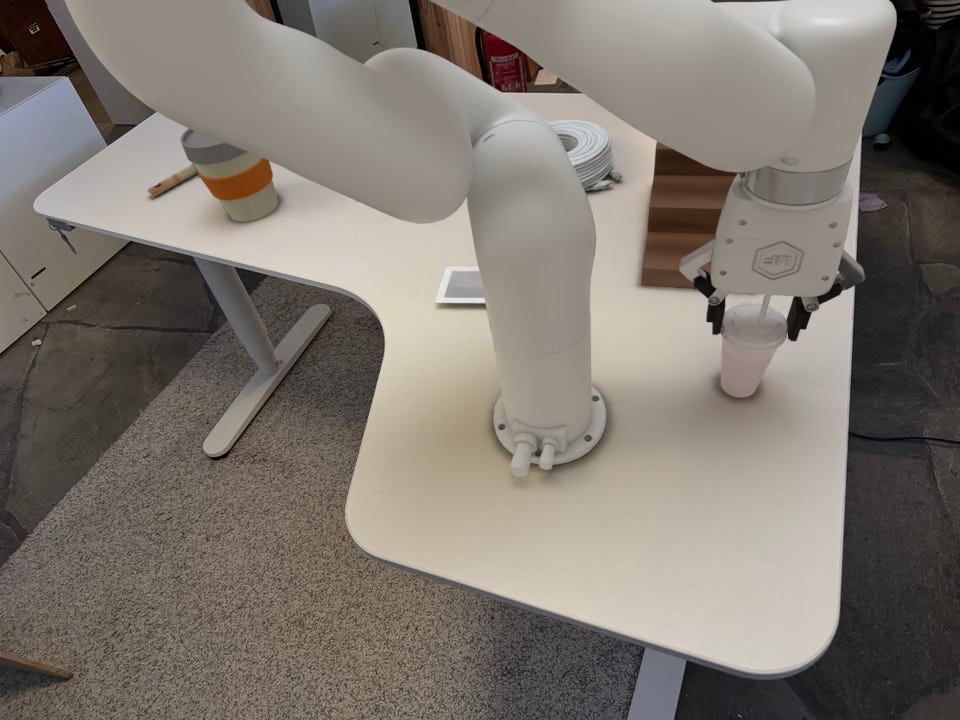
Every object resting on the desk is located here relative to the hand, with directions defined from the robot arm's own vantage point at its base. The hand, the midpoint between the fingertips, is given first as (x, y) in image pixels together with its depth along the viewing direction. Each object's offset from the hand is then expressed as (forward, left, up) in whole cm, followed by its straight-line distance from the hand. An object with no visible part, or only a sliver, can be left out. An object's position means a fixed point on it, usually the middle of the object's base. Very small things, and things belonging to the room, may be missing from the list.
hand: (753, 327), depth 61 cm
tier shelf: (+28, +5, -9) cm, 30 cm away
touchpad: (+13, +32, -9) cm, 36 cm away
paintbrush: (+42, +102, -9) cm, 111 cm away
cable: (+44, +28, -9) cm, 53 cm away
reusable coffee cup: (+31, +82, -9) cm, 88 cm away
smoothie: (0, 0, -9) cm, 9 cm away
